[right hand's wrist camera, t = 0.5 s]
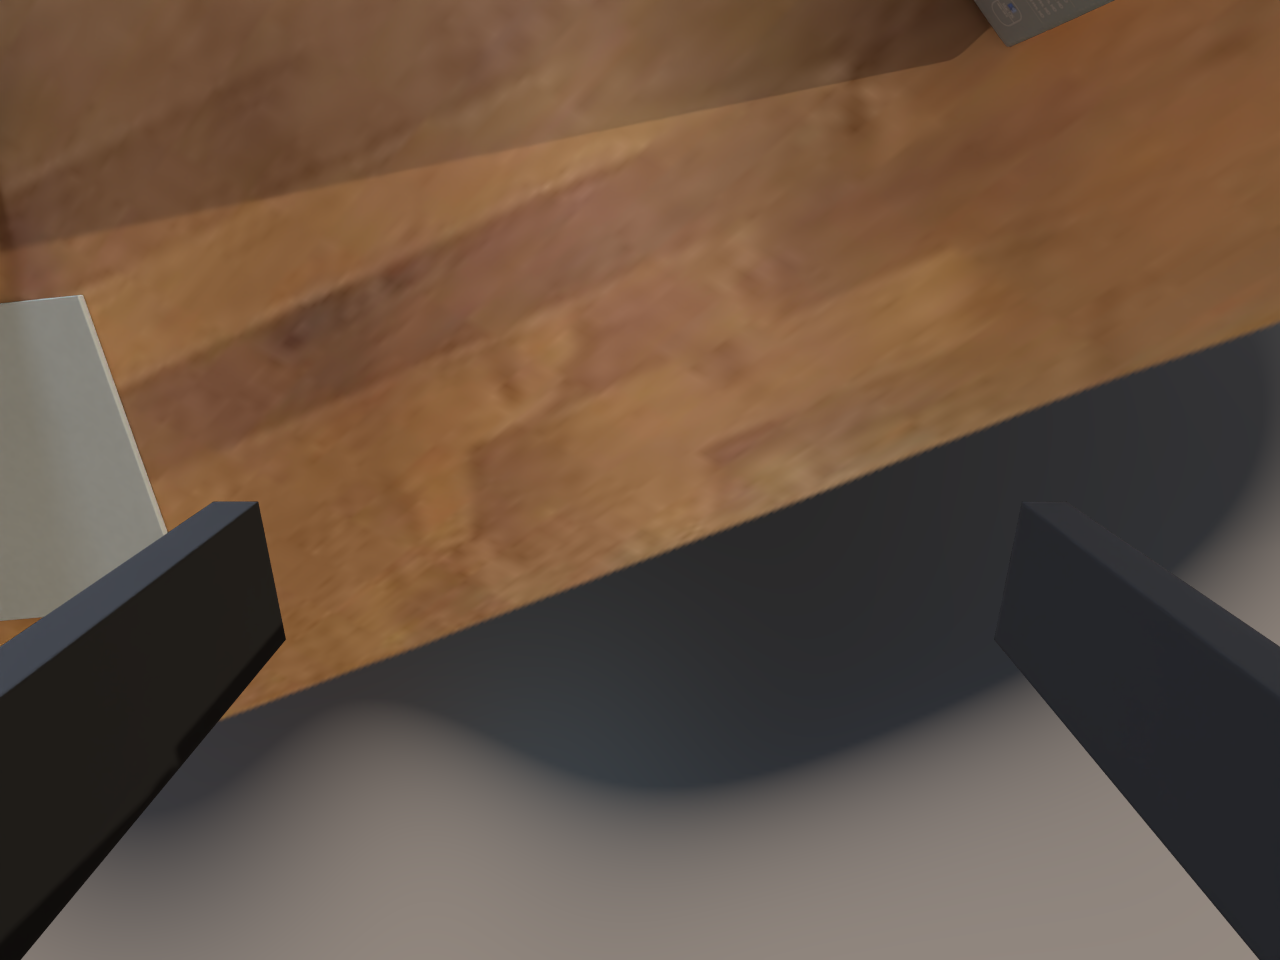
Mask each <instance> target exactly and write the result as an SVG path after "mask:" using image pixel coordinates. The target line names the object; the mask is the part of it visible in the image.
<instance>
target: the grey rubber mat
mask: <svg viewBox="0 0 1280 960" xmlns="http://www.w3.org/2000/svg"><path fill="white" fill-rule="evenodd" d="M167 533H168V532H167V529H166V526H165V524H164V521H163V518H162V515H161V512H160V510H159V507H158V504H157V501H156V498H155V496H154V493H153V490H152V487H151V484H150V482H149V479H148V476H147V473H146V470H145V468H144V465H143V462H142V459H141V456H140V454H139V451H138V448H137V445H136V442H135V440H134V437H133V434H132V431H131V428H130V426H129V423H128V420H127V417H126V414H125V412H124V409H123V406H122V403H121V400H120V398H119V395H118V392H117V389H116V386H115V383H114V381H113V378H112V375H111V372H110V369H109V367H108V364H107V361H106V358H105V355H104V353H103V350H102V347H101V344H100V341H99V339H98V336H97V333H96V330H95V327H94V325H93V322H92V319H91V316H90V313H89V311H88V308H87V305H86V302H85V299H84V297H83V295H76V296H66V297H57V298H47V299H37V300H28V301H18V302H8V303H0V621H4V620H16V619H27V618H38V617H45V616H46V615H48V614H49V613H51V612H52V611H53V610H55V609H56V608H58V607H59V606H61V605H62V604H64V603H65V602H67V601H68V600H70V599H71V598H73V597H74V596H76V595H77V594H78V593H80V592H81V591H83V590H84V589H86V588H87V587H89V586H90V585H92V584H93V583H95V582H96V581H98V580H99V579H101V578H102V577H103V576H105V575H106V574H108V573H109V572H111V571H112V570H114V569H115V568H117V567H118V566H120V565H121V564H123V563H124V562H126V561H127V560H128V559H130V558H131V557H133V556H134V555H136V554H137V553H139V552H140V551H142V550H143V549H145V548H146V547H148V546H149V545H151V544H152V543H153V542H155V541H156V540H158V539H159V538H161V537H162V536H164V535H165V534H167Z"/></svg>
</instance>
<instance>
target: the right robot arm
mask: <svg viewBox="0 0 1280 960" xmlns="http://www.w3.org/2000/svg"><path fill="white" fill-rule="evenodd" d="M285 640H286V638H285V633H284V628H283V623H282V618H281V613H280V608H279V603H278V598H277V593H276V588H275V583H274V578H273V573H272V568H271V563H270V558H269V553H268V548H267V543H266V538H265V533H264V528H263V523H262V518H261V513H260V509H259V504H258V502H212V503H211V504H209V505H208V506H206V507H205V508H204V509H202V510H201V511H199V512H198V513H196V514H195V515H193V516H192V517H190V518H189V519H187V520H186V521H184V522H183V523H181V524H180V525H179V526H177V527H176V528H174V529H173V530H171V531H170V532H168V533H167V534H165V535H164V536H162V537H161V538H159V539H158V540H156V541H155V542H153V543H152V544H151V545H149V546H148V547H146V548H145V549H143V550H142V551H140V552H139V553H137V554H136V555H134V556H133V557H131V558H130V559H128V560H127V561H126V562H124V563H123V564H121V565H120V566H118V567H117V568H115V569H114V570H112V571H111V572H109V573H108V574H106V575H105V576H103V577H102V578H101V579H99V580H98V581H96V582H95V583H93V584H92V585H90V586H89V587H87V588H86V589H84V590H83V591H81V592H80V593H78V594H77V595H76V596H74V597H73V598H71V599H70V600H68V601H67V602H65V603H64V604H62V605H61V606H59V607H58V608H56V609H55V610H53V611H52V612H51V613H49V614H48V615H46V616H45V617H43V618H42V619H40V620H39V621H37V622H36V623H34V624H33V625H31V626H30V627H28V628H27V629H26V630H24V631H23V632H21V633H20V634H18V635H17V636H15V637H14V638H12V639H11V640H9V641H8V642H6V643H5V644H3V645H2V646H1V647H0V960H21V959H22V957H23V956H24V955H25V954H26V953H27V951H28V950H29V949H30V948H31V947H32V945H33V944H34V943H35V942H36V941H37V939H38V938H39V937H40V936H41V935H42V933H43V932H44V931H45V930H46V929H47V927H48V926H49V925H50V924H51V922H52V921H53V920H54V919H55V918H56V916H57V915H58V914H59V913H60V911H61V910H62V909H63V908H64V907H65V906H66V904H67V903H68V902H69V901H70V900H71V898H72V897H73V896H74V895H75V893H76V892H77V891H78V890H79V889H80V887H81V886H82V885H83V884H84V882H85V881H86V880H87V879H88V878H89V877H90V875H91V874H92V873H93V872H94V871H95V869H96V868H97V867H98V866H99V864H100V863H101V862H102V861H103V860H104V858H105V857H106V856H107V855H108V854H109V852H110V851H111V850H112V849H113V848H114V846H115V845H116V844H117V843H118V842H119V840H120V839H121V838H122V837H123V836H124V834H125V833H126V832H127V831H128V829H129V828H130V827H131V826H132V825H133V823H134V822H135V821H136V820H137V819H138V817H139V816H140V815H141V814H142V813H143V811H144V810H145V809H146V808H147V807H148V805H149V804H150V803H151V802H152V800H153V799H154V798H155V797H156V796H157V794H158V793H159V792H160V791H161V790H162V788H163V787H164V786H165V785H166V784H167V782H168V781H169V780H170V779H171V778H172V776H173V775H174V774H175V773H176V772H177V770H178V769H179V768H180V767H181V765H182V764H183V763H184V762H185V761H186V759H187V758H188V757H189V756H190V755H191V753H192V752H193V751H194V750H195V749H196V747H197V746H198V745H199V744H200V743H201V741H202V740H203V739H204V738H205V736H206V735H207V734H208V733H209V732H210V730H211V729H212V728H213V727H214V726H215V724H216V723H217V722H218V721H219V720H220V718H221V717H222V716H223V715H224V714H225V712H226V711H227V710H228V709H229V708H230V706H231V705H232V704H233V703H234V701H235V700H236V699H237V698H238V697H239V695H240V694H241V693H242V692H243V691H244V689H245V688H246V687H247V686H248V685H249V683H250V682H251V681H252V680H253V679H254V677H255V676H256V675H257V674H258V672H259V671H260V670H261V669H262V668H263V666H264V665H265V664H266V663H267V662H268V660H269V659H270V658H271V657H272V656H273V654H274V653H275V652H276V651H277V650H278V648H279V647H280V646H281V645H282V644H283V642H284V641H285ZM994 640H995V641H996V642H997V643H998V645H999V646H1000V647H1001V648H1002V650H1003V651H1004V652H1005V653H1006V654H1007V656H1008V657H1009V658H1010V659H1011V660H1012V662H1013V663H1014V664H1015V665H1016V666H1017V668H1018V669H1019V670H1020V671H1021V672H1022V674H1023V675H1024V676H1025V677H1026V679H1027V680H1028V681H1029V682H1030V683H1031V685H1032V686H1033V687H1034V688H1035V689H1036V691H1037V692H1038V693H1039V694H1040V695H1041V697H1042V698H1043V699H1044V700H1045V701H1046V703H1047V704H1048V705H1049V706H1050V707H1051V709H1052V710H1053V711H1054V712H1055V713H1056V715H1057V716H1058V717H1059V718H1060V720H1061V721H1062V722H1063V723H1064V724H1065V726H1066V727H1067V728H1068V729H1069V730H1070V732H1071V733H1072V734H1073V735H1074V736H1075V738H1076V739H1077V740H1078V741H1079V743H1080V744H1081V745H1082V746H1083V747H1084V749H1085V750H1086V751H1087V752H1088V753H1089V755H1090V756H1091V757H1092V758H1093V759H1094V761H1095V762H1096V763H1097V764H1098V765H1099V767H1100V768H1101V769H1102V770H1103V772H1104V773H1105V774H1106V775H1107V776H1108V778H1109V779H1110V780H1111V781H1112V782H1113V784H1114V785H1115V786H1116V787H1117V788H1118V790H1119V791H1120V792H1121V793H1122V794H1123V796H1124V797H1125V798H1126V799H1127V800H1128V802H1129V803H1130V804H1131V805H1132V807H1133V808H1134V809H1135V810H1136V811H1137V813H1138V814H1139V815H1140V816H1141V817H1142V819H1143V820H1144V821H1145V822H1146V823H1147V825H1148V826H1149V827H1150V828H1151V829H1152V831H1153V832H1154V833H1155V834H1156V836H1157V837H1158V838H1159V839H1160V840H1161V842H1162V843H1163V844H1164V845H1165V846H1166V848H1167V849H1168V850H1169V851H1170V852H1171V854H1172V855H1173V856H1174V857H1175V858H1176V860H1177V861H1178V862H1179V863H1180V865H1181V866H1182V867H1183V868H1184V869H1185V871H1186V872H1187V873H1188V874H1189V875H1190V877H1191V878H1192V879H1193V880H1194V881H1195V883H1196V884H1197V885H1198V886H1199V887H1200V889H1201V890H1202V891H1203V892H1204V893H1205V895H1206V896H1207V897H1208V898H1209V900H1210V901H1211V902H1212V903H1213V904H1214V906H1215V907H1216V908H1217V909H1218V910H1219V912H1220V913H1221V914H1222V915H1223V916H1224V918H1225V919H1226V920H1227V921H1228V922H1229V924H1230V925H1231V926H1232V927H1233V929H1234V930H1235V931H1236V932H1237V933H1238V935H1239V936H1240V937H1241V938H1242V939H1243V941H1244V942H1245V943H1246V944H1247V945H1248V947H1249V948H1250V949H1251V950H1252V951H1253V953H1254V954H1255V955H1256V956H1257V957H1258V959H1259V960H1280V647H1279V646H1278V645H1277V644H1275V643H1274V642H1272V641H1271V640H1269V639H1268V638H1266V637H1265V636H1263V635H1262V634H1260V633H1259V632H1257V631H1256V630H1254V629H1253V628H1252V627H1250V626H1249V625H1247V624H1246V623H1244V622H1243V621H1241V620H1240V619H1238V618H1237V617H1235V616H1234V615H1232V614H1231V613H1229V612H1228V611H1227V610H1225V609H1224V608H1222V607H1221V606H1219V605H1218V604H1216V603H1215V602H1213V601H1212V600H1210V599H1209V598H1207V597H1206V596H1204V595H1203V594H1202V593H1200V592H1199V591H1197V590H1196V589H1194V588H1193V587H1191V586H1190V585H1188V584H1187V583H1185V582H1184V581H1182V580H1181V579H1179V578H1178V577H1176V576H1175V575H1174V574H1172V573H1171V572H1169V571H1168V570H1166V569H1165V568H1163V567H1162V566H1160V565H1159V564H1157V563H1156V562H1154V561H1153V560H1152V559H1150V558H1148V557H1147V556H1146V555H1144V554H1143V553H1141V552H1140V551H1138V550H1137V549H1135V548H1134V547H1132V546H1131V545H1129V544H1128V543H1127V542H1125V541H1124V540H1122V539H1121V538H1119V537H1118V536H1116V535H1115V534H1113V533H1112V532H1110V531H1109V530H1107V529H1106V528H1104V527H1103V526H1101V525H1100V524H1098V523H1097V522H1096V521H1094V520H1093V519H1091V518H1090V517H1088V516H1087V515H1085V514H1084V513H1082V512H1081V511H1079V510H1078V509H1076V508H1075V507H1074V506H1072V505H1071V504H1069V503H1068V502H1022V504H1021V509H1020V514H1019V518H1018V523H1017V528H1016V533H1015V538H1014V543H1013V548H1012V553H1011V558H1010V563H1009V568H1008V573H1007V578H1006V583H1005V588H1004V593H1003V598H1002V603H1001V608H1000V613H999V618H998V623H997V628H996V633H995V638H994Z"/></svg>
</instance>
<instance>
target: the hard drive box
mask: <svg viewBox="0 0 1280 960" xmlns="http://www.w3.org/2000/svg"><path fill="white" fill-rule="evenodd" d="M974 1H975V3H976V4H977V6H978V7H979V9H980V10H981V11H982V13H983V14H984V16H985V17H986V19H987V20H988V22H989V23H990V24H991V26H992V27H993V29H994V30H995V31H996V33H997V34H998V36H999V37H1000V39H1001V40H1002V41H1003V42H1004V44H1005V45H1006V46H1008V47H1011V46H1013V45H1015V44H1017V43H1020V42H1022V41H1025V40H1027V39H1029V38H1032V37H1034V36H1036V35H1038V34H1041V33H1043V32H1045V31H1047V30H1050V29H1052V28H1055V27H1057V26H1059V25H1061V24H1063V23H1065V22H1068V21H1070V20H1072V19H1075V18H1077V17H1079V16H1081V15H1083V14H1085V13H1087V12H1089V11H1092V10H1094V9H1096V8H1098V7H1101V6H1103V5H1105V4H1107V3H1109V2H1112V1H1114V0H974Z"/></svg>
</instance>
